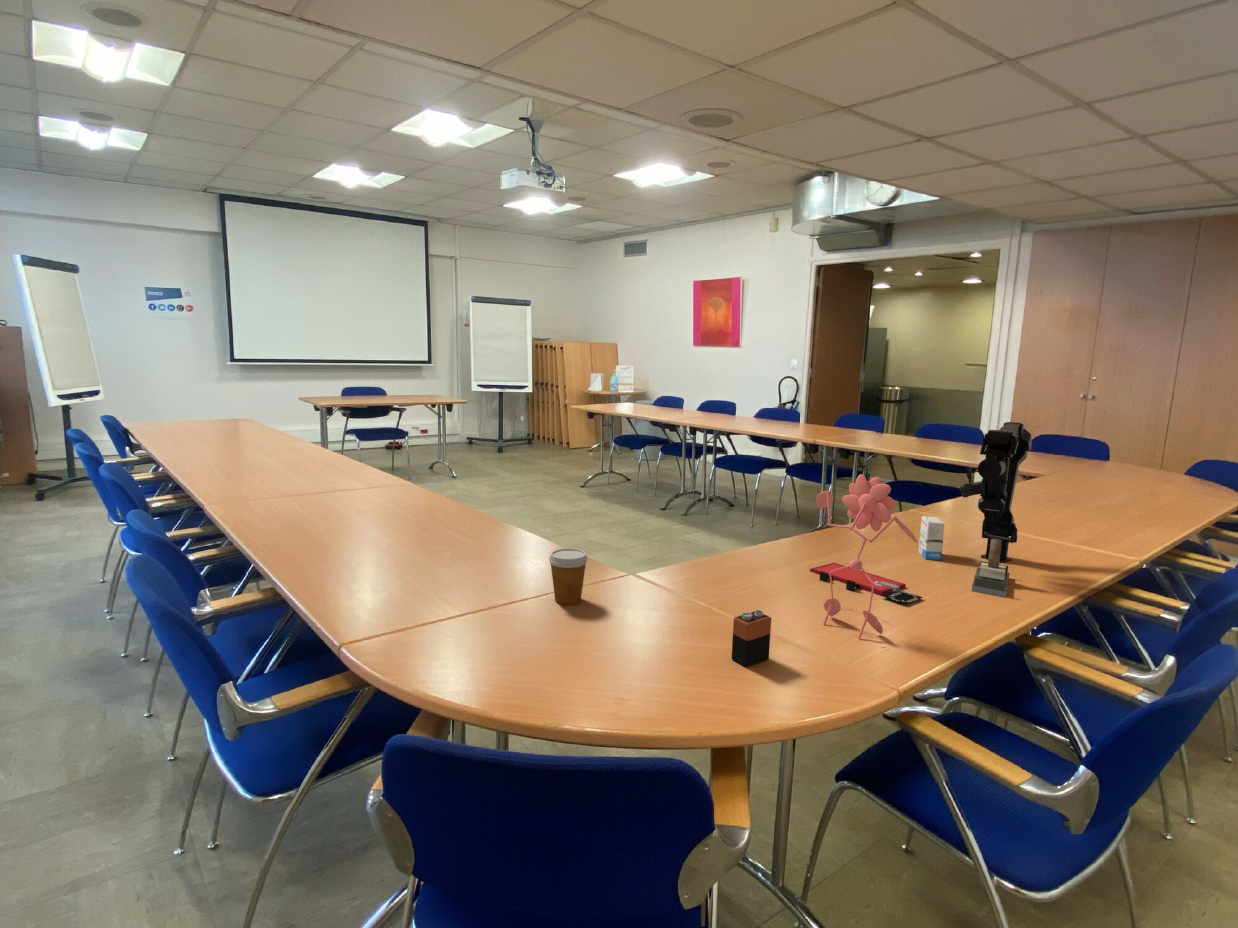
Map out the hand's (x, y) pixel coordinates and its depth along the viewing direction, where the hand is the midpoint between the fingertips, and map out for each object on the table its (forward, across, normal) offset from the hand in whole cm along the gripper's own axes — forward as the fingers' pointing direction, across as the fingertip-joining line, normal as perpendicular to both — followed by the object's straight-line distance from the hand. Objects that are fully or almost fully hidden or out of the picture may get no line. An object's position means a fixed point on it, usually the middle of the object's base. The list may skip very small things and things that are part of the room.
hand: (989, 528), depth 187 cm
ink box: (+13, -7, -15) cm, 22 cm away
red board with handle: (+14, +32, -27) cm, 44 cm away
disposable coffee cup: (+13, +87, -85) cm, 122 cm away
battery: (+13, +91, -36) cm, 99 cm away
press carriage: (+11, +9, +2) cm, 14 cm away
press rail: (+13, +11, +2) cm, 17 cm away
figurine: (+13, +60, -22) cm, 66 cm away
